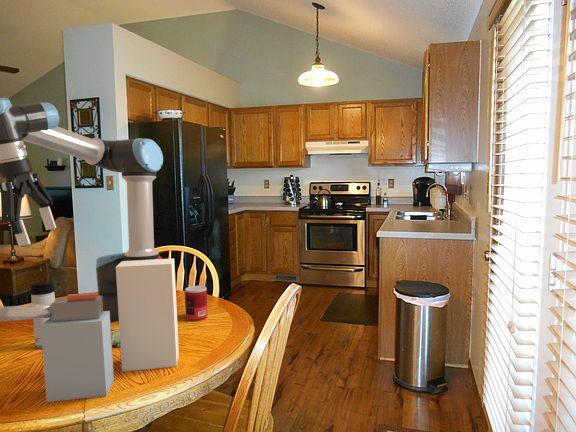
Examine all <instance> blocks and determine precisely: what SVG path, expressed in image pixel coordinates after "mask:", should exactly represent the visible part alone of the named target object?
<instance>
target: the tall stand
mask: <svg viewBox="0 0 576 432" xmlns="http://www.w3.org/2000/svg"><path fill="white" fill-rule="evenodd" d="M175 267H176V266H175V258H173V257H172V258H162V259H154V260H136V261H122V262H121V263H120V264H118V265H117V266H116V280H117V297H118V313H119V320H118V325H119V327H118V329H120V346H121V348H120V359H121V360H120V361H121V372H133V371H142V370H155V369H166V368H173V367H175V368H177V366H178V362H179V357H180V356H179V355H180V353H179V351H180V350H179V332H178V331H179V330H178V329H179V328H178V312H177V308H178V307H177V292H176V291H177V290H176V270H175Z"/></svg>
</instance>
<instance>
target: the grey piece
mask: <svg viewBox="0 0 576 432" xmlns="http://www.w3.org/2000/svg"><path fill="white" fill-rule="evenodd" d="M102 314H103V302H102V296H98V295H97V293H96V292H85V293H84V292H82V293H71V294H70V293H69V294H67V295H66V297H65V298H64V297H61V298H60V297H59V298H57V299H55V301H54V302H53V303H52V304H39V305H32V304H28V305H14V306H13V305H12V306H11V305H10V306H0V322H11V321H21V320H33V319H38V318H52V319H53V322H65V321H79V320H92V319H99V318H100V317H101V315H102Z"/></svg>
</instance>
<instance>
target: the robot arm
mask: <svg viewBox="0 0 576 432" xmlns="http://www.w3.org/2000/svg"><path fill="white" fill-rule="evenodd" d="M59 124H60V115H59V111H58V110H57V108H56V107H55V105H53V104H52V103H50V102H45V101H44V102H40V101H39V102H34V103H33V102H31V103H25V104H17V105H14V104H12V103H11V101H10V99H9V98H8V97H0V177H1V178H5V179H6V182H0V205H1V206H0V207H1V221H2V222H3V223H6V224H8V223H9V224H10V227H11V230H12V232H13V234H14V236H15V237H14V238H15V239H16V241H17V244H18V246H19V247H21V246H27V245H30V244H31V240H30V238H29V235H28V233H27V229H26V226H25V224H24V220H23V219H20V217H21V211H22V201H23V198H24V197H25V195H28V196H29V197H30V198H31V199H32V200H33V201H34V202H35V203H36V204H37V205H38V206H39V208H38V211H39V213H40V216H41V220H42V222H43V225H44V228H45V231H49V230H55V229H57V225H56V223H55V219H54V216H53V214H52V213H53V212H52V210H51V207H50V206H53V203H54V202H53V201H54V200H53V198H52V196H51V195H50V194H49V192H48V191H47V189H46V188H45V186H44V184H43V183H42V181H41V179H40V177H39V175H38V173H37V172H35V173H32V172H33V166H32V163H31V160H30V158H29V157H27V156H28V152H27V149H26V147H27V146H26V144H25V143H24V142H27V143H30V144H34V145H35V146H40V147H44V148H46V149H50V150H52V151H55V152H60V153H62V154H64V155H65V154H66V155H69V156H72V157H76V158H78V159H82V160H84V161H85V162H86V163H87V164H88V165H91V166H94V167H98V168H100V169H103V170H107V171H111V172H115V173H121V178H122V179H123V180H125V182H126V196H127V197H126V199H127V201H126V202H127V226H128V227H127V229H128V231H127V233H128V235H127V236H128V250H127V251H126V252H118V253H113V254H112V253H111V254H107V255H102V256H99V257H98V258H96V264H95V265H96V266H95V271H96V284H97V296H102V302H103V311H110V322H115V321H119V313H118V297H117V280H116V266H117V265H118V264H120V263H121V262H122V261H136V260H154V259H159V256H160V253H159V251H157V250H156V249H155V239H154V237H155V236H154V230H155V229H154V205H153V204H154V201H153V181H155V179H156V178H157V172H158V171H160V169H161V168H162V166H163V162H164V156H163V152H162V150H161V148H160V146H159V145H158V144H157V143H156V142H155V141H154V140H153V139H150V138H138V137H137V138H131V139H128V138H127V139H118V140H117V139H116V140H108V139H107V140H105V139H102V138H98V137H93V138H90V137H87V136H85V135H82V134H79V133H77V132H74V131H71V130H68V129H65V128H63V127H60V126H59Z"/></svg>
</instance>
